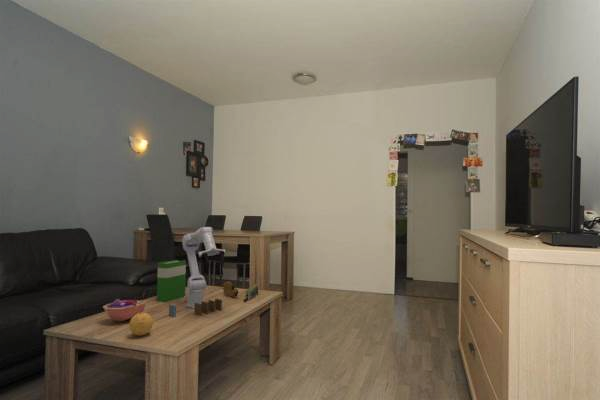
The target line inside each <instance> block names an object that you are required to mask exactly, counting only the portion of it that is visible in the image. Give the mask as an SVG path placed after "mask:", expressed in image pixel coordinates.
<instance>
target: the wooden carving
mask: <svg viewBox="0 0 600 400" xmlns="http://www.w3.org/2000/svg"><path fill="white" fill-rule="evenodd" d="M222 290H223V294H224V295H225V297H228V298H231V297H233V298H237V297H238V294H239V290H238V288H235V284H234V283H233V282H231V281H226V282H223V287H222Z"/></svg>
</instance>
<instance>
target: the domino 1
mask: <svg viewBox="0 0 600 400" xmlns="http://www.w3.org/2000/svg"><path fill="white" fill-rule="evenodd" d="M168 315H169V316H170V317H172V318H176V317H177V304H173V303H169V304H168ZM169 316H168V317H169Z"/></svg>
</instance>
